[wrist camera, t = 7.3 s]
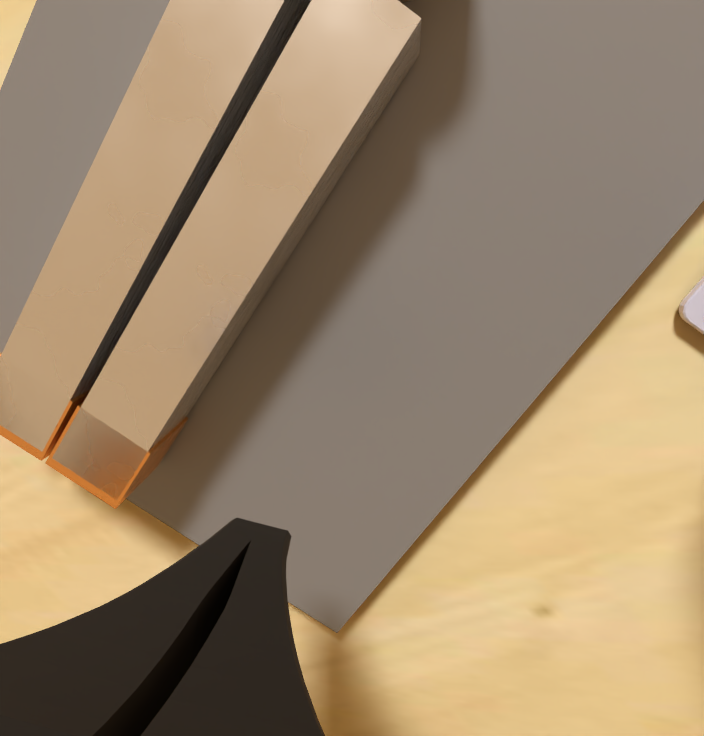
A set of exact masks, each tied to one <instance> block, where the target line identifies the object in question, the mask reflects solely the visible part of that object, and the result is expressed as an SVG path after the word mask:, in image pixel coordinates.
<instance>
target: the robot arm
mask: <svg viewBox="0 0 704 736" xmlns="http://www.w3.org/2000/svg"><path fill="white" fill-rule="evenodd" d="M679 314H680V317H681V318H682V319H683V320H684V321H685V322H687V323H688V324H689V325H691V326H692V327H694V328H695V329H696V330H698V331H699V332H700V333H702V334H703V335H704V276H703V277H702V279H701V280H700V281H699V282H698V283H697V284H696V285H695V286H694V288H693V289H692V290H691V291H690V292H689V293H688V294H687V295H686V297H685V298H684V299H683V300H682V302H681V303H680V305H679ZM290 541H291V535H290V533H289V531H288V530H284V529H280V528H276V527H272V526H268V525H264V524H260V523H256V522H252V521H249V520H245V519H241V518H235V519H233V520H231V521H230V522H229V523H228V524H226V525H225V526H224V527H223V528H221V529H220V530H219V531H218V532H217V533H215V534H214V535H213V536H211V537H210V538H209V539H208V540H206V541H205V542H204V543H202V544H201V545H200V546H198V547H197V548H196V549H194V550H193V551H191V552H190V553H189V554H187V555H186V556H184V557H183V558H182V559H180V560H179V561H177V562H176V563H174V564H173V565H171V566H170V567H168V568H167V569H165V570H164V571H162V572H160V573H159V574H157V575H156V576H154V577H153V578H151V579H149V580H148V581H146V582H145V583H143V584H141V585H139V586H138V587H136V588H134V589H132V590H131V591H129V592H127V593H125V594H123V595H122V596H120V597H118V598H116V599H114V600H112V601H110V602H108V603H106V604H104V605H102V606H100V607H98V608H95V609H93V610H91V611H88V612H86V613H84V614H81V615H79V616H77V617H74V618H72V619H70V620H67V621H65V622H62V623H60V624H58V625H55V626H52V627H50V628H47V629H44V630H41V631H39V632H36V633H33V634H30V635H27V636H24V637H21V638H18V639H15V640H12V641H9V642H6V643H2V644H0V736H325V735H324V732H323V730H322V728H321V725H320V723H319V721H318V718H317V716H316V713H315V710H314V707H313V704H312V702H311V699H310V696H309V693H308V690H307V687H306V685H305V682H304V679H303V675H302V671H301V668H300V664H299V661H298V657H297V652H296V648H295V644H294V639H293V634H292V628H291V622H290V615H289V608H288V598H287V582H286V561H287V555H288V550H289V546H290Z"/></svg>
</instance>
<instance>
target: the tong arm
mask: <svg viewBox="0 0 704 736" xmlns="http://www.w3.org/2000/svg"><path fill="white" fill-rule="evenodd" d="M420 34H421V18H420V17H419V16H418V15H416V14H415V13H414V12H413V11H411V10H410V9H409V8H407V7H406V6H405V5H403V4H402V3H401V2H399V1H398V0H311V2H310V4H309V6H308V7H307V9H306V11H305V13H304V14H303V16H302V18H301V20H300V21H299V23H298V25H297V27H296V29H295V30H294V32H293V34H292V36H291V37H290V39H289V41H288V43H287V44H286V46H285V48H284V50H283V51H282V53H281V55H280V57H279V59H278V60H277V62H276V64H275V66H274V67H273V69H272V71H271V73H270V74H269V76H268V78H267V80H266V81H265V83H264V85H263V87H262V89H261V90H260V92H259V94H258V96H257V97H256V99H255V101H254V103H253V104H252V106H251V108H250V110H249V111H248V113H247V115H246V117H245V119H244V120H243V122H242V124H241V126H240V127H239V129H238V131H237V133H236V134H235V136H234V138H233V140H232V141H231V143H230V145H229V147H228V148H227V150H226V152H225V154H224V156H223V157H222V159H221V161H220V163H219V164H218V166H217V168H216V170H215V171H214V173H213V175H212V177H211V178H210V180H209V182H208V184H207V186H206V187H205V189H204V191H203V193H202V194H201V196H200V198H199V200H198V201H197V203H196V205H195V207H194V208H193V210H192V212H191V214H190V216H189V217H188V219H187V221H186V223H185V224H184V226H183V228H182V230H181V231H180V233H179V235H178V237H177V238H176V240H175V242H174V244H173V245H172V247H171V249H170V251H169V253H168V254H167V256H166V258H165V260H164V261H163V263H162V265H161V267H160V268H159V270H158V272H157V274H156V275H155V277H154V279H153V281H152V283H151V284H150V286H149V288H148V290H147V291H146V293H145V295H144V297H143V298H142V300H141V302H140V304H139V305H138V307H137V309H136V311H135V313H134V314H133V316H132V318H131V320H130V321H129V323H128V325H127V327H126V328H125V330H124V332H123V334H122V335H121V337H120V339H119V341H118V343H117V344H116V346H115V348H114V350H113V351H112V353H111V355H110V357H109V358H108V360H107V362H106V364H105V365H104V367H103V369H102V371H101V372H100V374H99V376H98V378H97V380H96V381H95V383H94V385H93V387H92V388H91V390H90V392H89V394H88V395H87V397H86V399H85V401H84V402H83V403H81V404H80V405H78V406H77V408H76V410H75V412H74V413H73V415H72V417H71V419H70V420H69V422H68V424H67V426H66V427H65V429H64V431H63V433H62V435H61V436H60V438H59V440H58V442H57V443H56V445H55V447H54V449H53V451H52V452H51V454H50V456H49V458H48V459H47V461H46V464H47V465H49V466H50V467H52V468H53V469H55V470H56V471H58V472H60V473H61V474H63V475H64V476H66V477H67V478H69V479H70V480H72V481H73V482H75V483H76V484H78V485H80V486H81V487H83V488H84V489H86V490H87V491H89V492H90V493H92V494H93V495H95V496H96V497H98V498H100V499H101V500H103V501H104V502H106V503H107V504H109V505H110V506H112V507H113V508H115V509H116V508H117V507H118V506H119V505H120V504H121V503H122V502H123V501H124V500H125V499H126V498H127V497H128V496H129V495H130V494H131V493H132V492H133V491H134V490H135V489H136V488H137V487H138V486H139V485H140V484H141V483H142V482H143V481H144V480H145V479H146V478H147V477H148V476H149V475H150V474H151V473H152V472H153V471H154V470H155V469H156V468H157V467H158V465H159V464H160V462H161V461H162V459H163V457H164V456H165V454H166V453H167V451H168V450H169V448H170V447H171V445H172V443H173V442H174V440H175V439H176V437H177V436H178V434H179V433H180V431H181V429H182V428H183V426H184V425H185V423H186V422H187V420H188V419H189V418H187V415H188V413H189V412H190V410H191V409H192V407H193V406H194V404H195V403H196V401H197V399H198V398H199V396H200V395H201V393H202V392H203V390H204V389H205V387H206V385H207V384H208V382H209V381H210V379H211V378H212V376H213V375H214V373H215V371H216V370H217V368H218V367H219V365H220V364H221V362H222V360H223V359H224V357H225V356H226V354H227V353H228V351H229V350H230V348H231V346H232V345H233V343H234V342H235V340H236V339H237V337H238V336H239V334H240V332H241V331H242V329H243V328H244V326H245V325H246V323H247V322H248V320H249V318H250V317H251V315H252V314H253V312H254V311H255V309H256V308H257V306H258V304H259V303H260V301H261V300H262V298H263V297H264V295H265V294H266V292H267V290H268V289H269V287H270V286H271V284H272V283H273V281H274V280H275V278H276V276H277V275H278V273H279V272H280V270H281V269H282V267H283V266H284V264H285V262H286V261H287V259H288V258H289V256H290V255H291V253H292V252H293V250H294V248H295V247H296V245H297V244H298V242H299V241H300V239H301V238H302V236H303V234H304V233H305V231H306V230H307V228H308V227H309V225H310V224H311V222H312V220H313V219H314V217H315V216H316V214H317V213H318V211H319V210H320V208H321V206H322V205H323V203H324V202H325V200H326V199H327V197H328V196H329V194H330V192H331V191H332V189H333V188H334V186H335V185H336V183H337V182H338V180H339V178H340V177H341V175H342V174H343V172H344V171H345V169H346V167H347V166H348V164H349V163H350V161H351V160H352V158H353V157H354V155H355V153H356V152H357V150H358V149H359V147H360V146H361V144H362V143H363V141H364V139H365V138H366V136H367V135H368V133H369V132H370V130H371V129H372V127H373V125H374V124H375V122H376V121H377V119H378V118H379V116H380V115H381V113H382V111H383V110H384V108H385V107H386V105H387V104H388V102H389V101H390V99H391V97H392V96H393V94H394V93H395V91H396V90H397V88H398V87H399V85H400V83H401V82H402V80H403V79H404V77H405V76H406V74H407V73H408V71H409V69H410V68H411V66H412V65H413V63H414V62H415V60H416V59H417V57H418V55H419V52H420Z"/></svg>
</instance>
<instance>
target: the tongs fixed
mask: <svg viewBox="0 0 704 736" xmlns="http://www.w3.org/2000/svg"><path fill="white" fill-rule="evenodd" d="M398 1H399V2H401V3H402V2H407V1H410V0H398ZM310 2H311V0H170V1H169V3H168V5H167V8H166V10H165V12H164V14H163V16H162V18H161V20H160V22H159V24H158V26H157V29H156V31H155V33H154V35H153V37H152V39H151V41H150V43H149V45H148V47H147V50H146V52H145V54H144V56H143V58H142V60H141V62H140V64H139V66H138V68H137V71H136V73H135V75H134V77H133V79H132V81H131V83H130V85H129V87H128V89H127V92H126V94H125V96H124V98H123V100H122V102H121V104H120V106H119V108H118V110H117V113H116V115H115V117H114V119H113V121H112V123H111V125H110V127H109V129H108V131H107V134H106V136H105V138H104V140H103V142H102V144H101V146H100V148H99V150H98V152H97V155H96V157H95V159H94V161H93V163H92V165H91V167H90V169H89V171H88V173H87V176H86V178H85V180H84V182H83V184H82V186H81V188H80V190H79V192H78V195H77V197H76V199H75V201H74V203H73V205H72V207H71V209H70V211H69V213H68V216H67V218H66V220H65V222H64V224H63V226H62V228H61V230H60V232H59V234H58V237H57V239H56V241H55V243H54V245H53V247H52V249H51V251H50V253H49V255H48V258H47V260H46V262H45V264H44V266H43V268H42V270H41V272H40V274H39V276H38V279H37V281H36V283H35V285H34V287H33V289H32V291H31V293H30V295H29V297H28V300H27V302H26V304H25V306H24V308H23V310H22V312H21V314H20V316H19V318H18V321H17V323H16V325H15V327H14V329H13V331H12V333H11V335H10V337H9V339H8V342H7V344H6V346H5V348H4V350H3V352H2V353H0V435H2V436H3V437H5V438H6V439H8V440H9V441H11V442H13V443H14V444H16V445H17V446H19V447H21V448H22V449H24V450H25V451H27V452H28V453H30V454H32V455H33V456H35V457H36V458H38V459H39V460H43V459H44V458H46V457H47V456H49V455H50V454H51V452H52V451H53V449H54V447H55V445H56V443H57V442H58V440H59V438H60V436H61V435H62V433H63V431H64V429H65V427H66V426H67V424H68V422H69V420H70V419H71V417H72V415H73V413H74V412H75V410H76V408H77V406H78V405H80V404H81V403H83V402H84V401H85V399H86V397H87V395H88V394H89V392H90V390H91V388H92V387H93V385H94V383H95V381H96V380H97V378H98V376H99V374H100V372H101V371H102V369H103V367H104V365H105V364H106V362H107V360H108V358H109V357H110V355H111V353H112V351H113V350H114V348H115V346H116V344H117V343H118V341H119V339H120V337H121V335H122V334H123V332H124V330H125V328H126V327H127V325H128V323H129V321H130V320H131V318H132V316H133V314H134V313H135V311H136V309H137V307H138V305H139V304H140V302H141V300H142V298H143V297H144V295H145V293H146V291H147V290H148V288H149V286H150V284H151V283H152V281H153V279H154V277H155V275H156V274H157V272H158V270H159V268H160V267H161V265H162V263H163V261H164V260H165V258H166V256H167V254H168V253H169V251H170V249H171V247H172V245H173V244H174V242H175V240H176V238H177V237H178V235H179V233H180V231H181V230H182V228H183V226H184V224H185V223H186V221H187V219H188V217H189V216H190V214H191V212H192V210H193V208H194V207H195V205H196V203H197V201H198V200H199V198H200V196H201V194H202V193H203V191H204V189H205V187H206V186H207V184H208V182H209V180H210V178H211V177H212V175H213V173H214V171H215V170H216V168H217V166H218V164H219V163H220V161H221V159H222V157H223V156H224V154H225V152H226V150H227V148H228V147H229V145H230V143H231V141H232V140H233V138H234V136H235V134H236V133H237V131H238V129H239V127H240V126H241V124H242V122H243V120H244V119H245V117H246V115H247V113H248V111H249V110H250V108H251V106H252V104H253V103H254V101H255V99H256V97H257V96H258V94H259V92H260V90H261V89H262V87H263V85H264V83H265V81H266V80H267V78H268V76H269V74H270V73H271V71H272V69H273V67H274V66H275V64H276V62H277V60H278V59H279V57H280V55H281V53H282V51H283V50H284V48H285V46H286V44H287V43H288V41H289V39H290V37H291V36H292V34H293V32H294V30H295V29H296V27H297V25H298V23H299V21H300V20H301V18H302V16H303V14H304V13H305V11H306V9H307V7H308V6H309V4H310Z"/></svg>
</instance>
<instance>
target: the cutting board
mask: <svg viewBox="0 0 704 736" xmlns="http://www.w3.org/2000/svg"><path fill="white" fill-rule="evenodd" d="M169 1H170V0H37V1H36V4H35V6H34V8H33V11H32V13H31V16H30V18H29V21H28V23H27V26H26V28H25V31H24V33H23V36H22V38H21V40H20V43H19V45H18V48H17V50H16V53H15V55H14V58H13V60H12V63H11V65H10V68H9V70H8V73H7V75H6V77H5V80H4V82H3V85H2V87H1V90H0V353H2V352H3V350H4V348H5V346H6V344H7V342H8V339H9V337H10V335H11V333H12V331H13V329H14V327H15V325H16V323H17V321H18V318H19V316H20V314H21V312H22V310H23V308H24V306H25V304H26V302H27V300H28V297H29V295H30V293H31V291H32V289H33V287H34V285H35V283H36V281H37V279H38V276H39V274H40V272H41V270H42V268H43V266H44V264H45V262H46V260H47V258H48V255H49V253H50V251H51V249H52V247H53V245H54V243H55V241H56V239H57V237H58V234H59V232H60V230H61V228H62V226H63V224H64V222H65V220H66V218H67V216H68V213H69V211H70V209H71V207H72V205H73V203H74V201H75V199H76V197H77V195H78V192H79V190H80V188H81V186H82V184H83V182H84V180H85V178H86V176H87V173H88V171H89V169H90V167H91V165H92V163H93V161H94V159H95V157H96V155H97V152H98V150H99V148H100V146H101V144H102V142H103V140H104V138H105V136H106V134H107V131H108V129H109V127H110V125H111V123H112V121H113V119H114V117H115V115H116V113H117V110H118V108H119V106H120V104H121V102H122V100H123V98H124V96H125V94H126V92H127V89H128V87H129V85H130V83H131V81H132V79H133V77H134V75H135V73H136V71H137V68H138V66H139V64H140V62H141V60H142V58H143V56H144V54H145V52H146V50H147V47H148V45H149V43H150V41H151V39H152V37H153V35H154V33H155V31H156V29H157V26H158V24H159V22H160V20H161V18H162V16H163V14H164V12H165V10H166V8H167V5H168V3H169ZM402 4H403V5H405V6H406V7H407V8H409V9H410V10H411V11H413V12H414V13H415V14H416V15H418V16H419V17H420V18H421V34H420V52H419V55H418V57H417V59H416V60H415V62H414V63H413V65H412V66H411V68H410V69H409V71H408V73H407V74H406V76H405V77H404V79H403V80H402V82H401V83H400V85H399V87H398V88H397V90H396V91H395V93H394V94H393V96H392V97H391V99H390V101H389V102H388V104H387V105H386V107H385V108H384V110H383V111H382V113H381V115H380V116H379V118H378V119H377V121H376V122H375V124H374V125H373V127H372V129H371V130H370V132H369V133H368V135H367V136H366V138H365V139H364V141H363V143H362V144H361V146H360V147H359V149H358V150H357V152H356V153H355V155H354V157H353V158H352V160H351V161H350V163H349V164H348V166H347V167H346V169H345V171H344V172H343V174H342V175H341V177H340V178H339V180H338V182H337V183H336V185H335V186H334V188H333V189H332V191H331V192H330V194H329V196H328V197H327V199H326V200H325V202H324V203H323V205H322V206H321V208H320V210H319V211H318V213H317V214H316V216H315V217H314V219H313V220H312V222H311V224H310V225H309V227H308V228H307V230H306V231H305V233H304V234H303V236H302V238H301V239H300V241H299V242H298V244H297V245H296V247H295V248H294V250H293V252H292V253H291V255H290V256H289V258H288V259H287V261H286V262H285V264H284V266H283V267H282V269H281V270H280V272H279V273H278V275H277V276H276V278H275V280H274V281H273V283H272V284H271V286H270V287H269V289H268V290H267V292H266V294H265V295H264V297H263V298H262V300H261V301H260V303H259V304H258V306H257V308H256V309H255V311H254V312H253V314H252V315H251V317H250V318H249V320H248V322H247V323H246V325H245V326H244V328H243V329H242V331H241V332H240V334H239V336H238V337H237V339H236V340H235V342H234V343H233V345H232V346H231V348H230V350H229V351H228V353H227V354H226V356H225V357H224V359H223V360H222V362H221V364H220V365H219V367H218V368H217V370H216V371H215V373H214V375H213V376H212V378H211V379H210V381H209V382H208V384H207V385H206V387H205V389H204V390H203V392H202V393H201V395H200V396H199V398H198V399H197V401H196V403H195V404H194V406H193V407H192V409H191V410H190V412H189V413H188V415H187V418H189V419H188V420H187V422H186V423H185V425H184V426H183V428H182V429H181V431H180V433H179V434H178V436H177V437H176V439H175V440H174V442H173V443H172V445H171V447H170V448H169V450H168V451H167V453H166V454H165V456H164V457H163V459H162V461H161V462H160V464H159V465H158V467H157V468H156V469H155V470H154V471H153V472H152V473H151V474H150V475H149V476H148V477H147V478H146V479H145V480H144V481H143V482H142V483H141V484H140V485H139V486H138V487H137V488H136V489H135V490H134V491H133V492H132V493H131V494H130V495H129V496H128V497H127V498H126V499H127V500H129V501H130V502H132V503H134V504H135V505H137V506H138V507H140V508H141V509H143V510H145V511H146V512H148V513H149V514H151V515H152V516H154V517H156V518H157V519H159V520H160V521H162V522H163V523H165V524H167V525H168V526H170V527H171V528H173V529H174V530H176V531H178V532H179V533H181V534H182V535H184V536H185V537H187V538H189V539H190V540H192V541H193V542H195V543H196V544H198V545H201V544H202V543H204V542H205V541H206V540H208V539H209V538H210V537H211V536H213V535H214V534H215V533H217V532H218V531H219V530H220V529H221V528H223V527H224V526H225V525H226V524H228V523H229V522H230V521H231V520H233V519H235V518H241V519H245V520H249V521H252V522H256V523H260V524H264V525H268V526H272V527H276V528H280V529H284V530H288V531H289V533H290V535H291V541H290V546H289V550H288V555H287V561H286V582H287V598H288V602H289V603H291V604H292V605H294V606H295V607H297V608H299V609H300V610H302V611H303V612H305V613H306V614H308V615H310V616H311V617H313V618H314V619H316V620H317V621H319V622H321V623H322V624H324V625H325V626H327V627H328V628H330V629H332V630H333V631H335V632H336V633H338V632H339V630H340V629H341V628H342V627H343V626H344V624H345V623H346V622H347V621H348V620H349V619H350V617H351V616H352V615H353V614H354V613H355V611H356V610H357V609H358V608H359V607H360V606H361V604H362V603H363V602H364V601H365V600H366V598H367V597H368V596H369V595H370V594H371V593H372V591H373V590H374V589H375V588H376V587H377V585H378V584H379V583H380V582H381V581H382V580H383V578H384V577H385V576H386V575H387V574H388V572H389V571H390V570H391V569H392V568H393V567H394V565H395V564H396V563H397V562H398V561H399V560H400V558H401V557H402V556H403V555H404V554H405V552H406V551H407V550H408V549H409V548H410V547H411V545H412V544H413V543H414V542H415V541H416V539H417V538H418V537H419V536H420V535H421V534H422V532H423V531H424V530H425V529H426V528H427V526H428V525H429V524H430V523H431V522H432V521H433V519H434V518H435V517H436V516H437V515H438V513H439V512H440V511H441V510H442V509H443V508H444V506H445V505H446V504H447V503H448V502H449V500H450V499H451V498H452V497H453V496H454V495H455V493H456V492H457V491H458V490H459V489H460V487H461V486H462V485H463V484H464V483H465V482H466V480H467V479H468V478H469V477H470V476H471V475H472V473H473V472H474V471H475V470H476V469H477V467H478V466H479V465H480V464H481V463H482V462H483V460H484V459H485V458H486V457H487V456H488V454H489V453H490V452H491V451H492V450H493V449H494V447H495V446H496V445H497V444H498V443H499V441H500V440H501V439H502V438H503V437H504V436H505V434H506V433H507V432H508V431H509V430H510V428H511V427H512V426H513V425H514V424H515V423H516V421H517V420H518V419H519V418H520V417H521V415H522V414H523V413H524V412H525V411H526V410H527V408H528V407H529V406H530V405H531V404H532V402H533V401H534V400H535V399H536V398H537V397H538V395H539V394H540V393H541V392H542V391H543V390H544V388H545V387H546V386H547V385H548V384H549V382H550V381H551V380H552V379H553V378H554V377H555V375H556V374H557V373H558V372H559V371H560V369H561V368H562V367H563V366H564V365H565V364H566V362H567V361H568V360H569V359H570V358H571V356H572V355H573V354H574V353H575V352H576V351H577V349H578V348H579V347H580V346H581V345H582V343H583V342H584V341H585V340H586V339H587V338H588V336H589V335H590V334H591V333H592V332H593V330H594V329H595V328H596V327H597V326H598V325H599V323H600V322H601V321H602V320H603V319H604V317H605V316H606V315H607V314H608V313H609V312H610V310H611V309H612V308H613V307H614V306H615V305H616V303H617V302H618V301H619V300H620V299H621V297H622V296H623V295H624V294H625V293H626V292H627V290H628V289H629V288H630V287H631V286H632V284H633V283H634V282H635V281H636V280H637V279H638V277H639V276H640V275H641V274H642V273H643V271H644V270H645V269H646V268H647V267H648V266H649V264H650V263H651V262H652V261H653V260H654V258H655V257H656V256H657V255H658V254H659V253H660V251H661V250H662V249H663V248H664V247H665V245H666V244H667V243H668V242H669V241H670V240H671V238H672V237H673V236H674V235H675V234H676V233H677V231H678V230H679V229H680V228H681V227H682V225H683V224H684V223H685V222H686V221H687V220H688V218H689V217H690V216H691V215H692V214H693V212H694V211H695V210H696V209H697V208H698V207H699V205H700V204H701V203H702V202H703V201H704V0H410V1H407V2H402Z"/></svg>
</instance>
